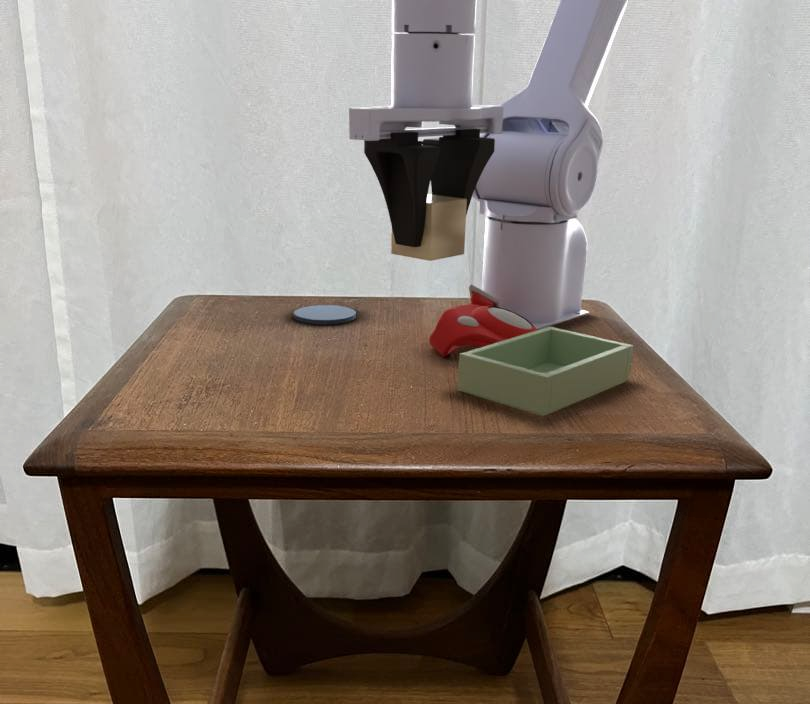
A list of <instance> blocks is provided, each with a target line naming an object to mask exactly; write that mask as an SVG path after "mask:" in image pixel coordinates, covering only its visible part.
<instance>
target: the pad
mask: <svg viewBox="0 0 810 704" xmlns="http://www.w3.org/2000/svg"><path fill="white" fill-rule="evenodd" d="M356 317H357V311H356V310H354V309H353V308H351V307H347V306H342V305H335V304H334V305H331V304H319V305H318V304H317V305H309V306H304V307H299V308H297V309H295V310H294V311H293V318H294V319H295V320H296V321H298V322H300V323H304V324H310V325H338V324H345V323H349V322H352V321H353V320H356Z"/></svg>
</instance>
